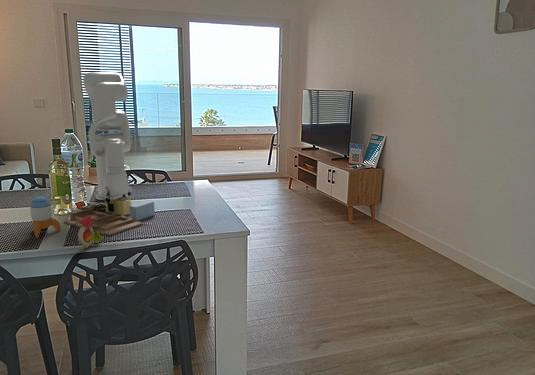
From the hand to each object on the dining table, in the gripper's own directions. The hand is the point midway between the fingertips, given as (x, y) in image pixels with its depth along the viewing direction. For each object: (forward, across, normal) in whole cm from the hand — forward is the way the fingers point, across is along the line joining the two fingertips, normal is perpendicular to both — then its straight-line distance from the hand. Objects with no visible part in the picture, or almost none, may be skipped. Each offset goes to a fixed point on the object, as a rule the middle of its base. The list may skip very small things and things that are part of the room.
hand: (118, 209), depth 186 cm
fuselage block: (+1, 0, 0) cm, 2 cm away
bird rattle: (+2, +32, +24) cm, 40 cm away
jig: (+1, +14, +8) cm, 16 cm away
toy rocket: (+2, +33, -3) cm, 33 cm away
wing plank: (+1, -1, +14) cm, 14 cm away
